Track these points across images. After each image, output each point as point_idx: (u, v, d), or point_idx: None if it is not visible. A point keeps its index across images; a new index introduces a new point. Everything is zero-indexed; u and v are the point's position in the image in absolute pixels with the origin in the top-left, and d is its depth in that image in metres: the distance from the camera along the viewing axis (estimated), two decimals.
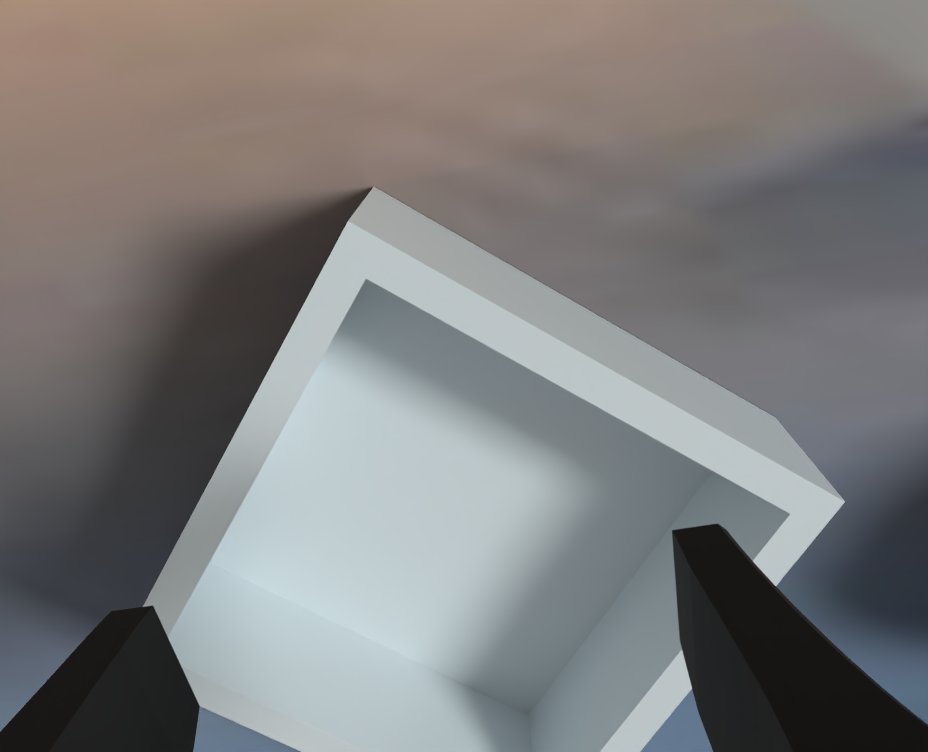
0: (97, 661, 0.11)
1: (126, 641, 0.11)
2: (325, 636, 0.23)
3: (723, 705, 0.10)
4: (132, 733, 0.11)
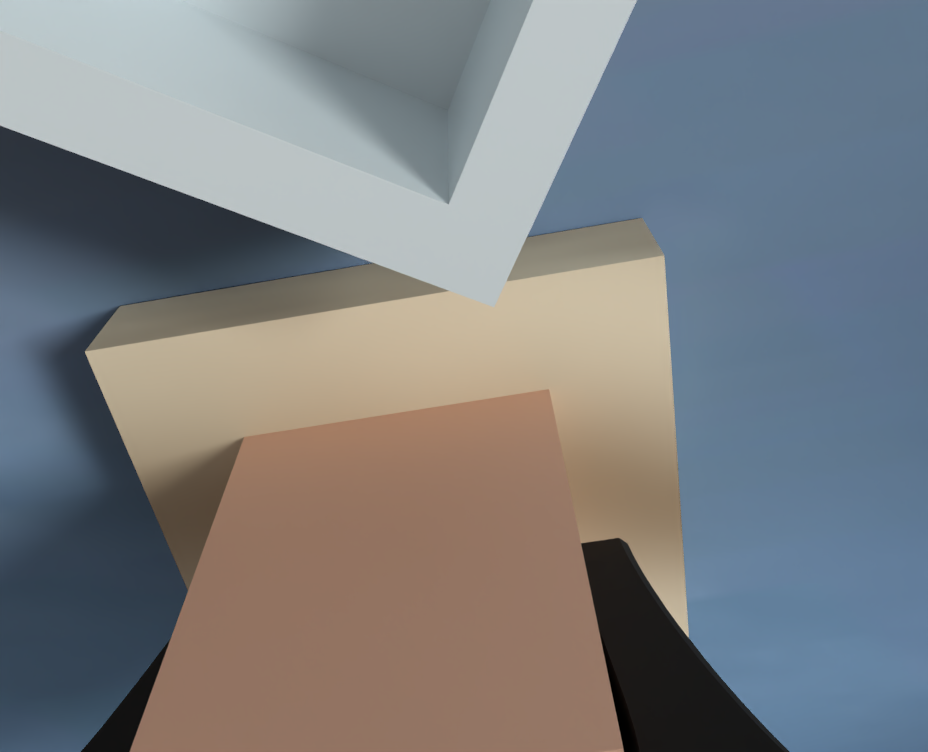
0: None
1: None
2: None
3: None
4: None
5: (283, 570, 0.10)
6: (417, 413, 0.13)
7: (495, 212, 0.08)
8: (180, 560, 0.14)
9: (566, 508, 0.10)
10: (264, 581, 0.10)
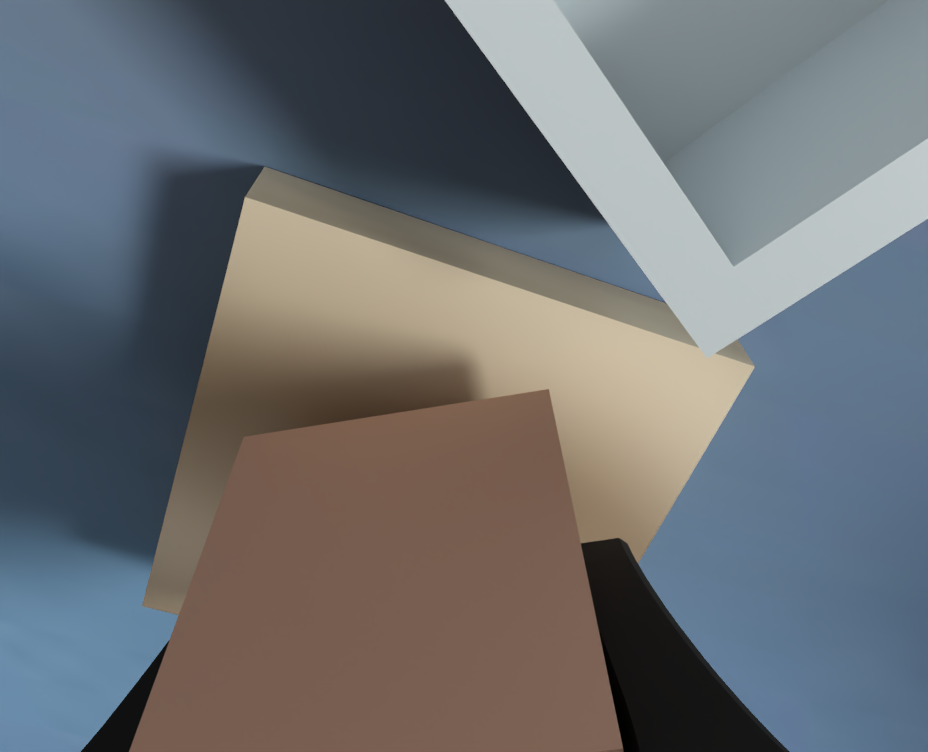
0: None
1: None
2: None
3: None
4: None
5: (282, 570, 0.10)
6: (417, 413, 0.13)
7: (760, 290, 0.10)
8: (194, 420, 0.14)
9: (566, 508, 0.10)
10: (263, 581, 0.10)
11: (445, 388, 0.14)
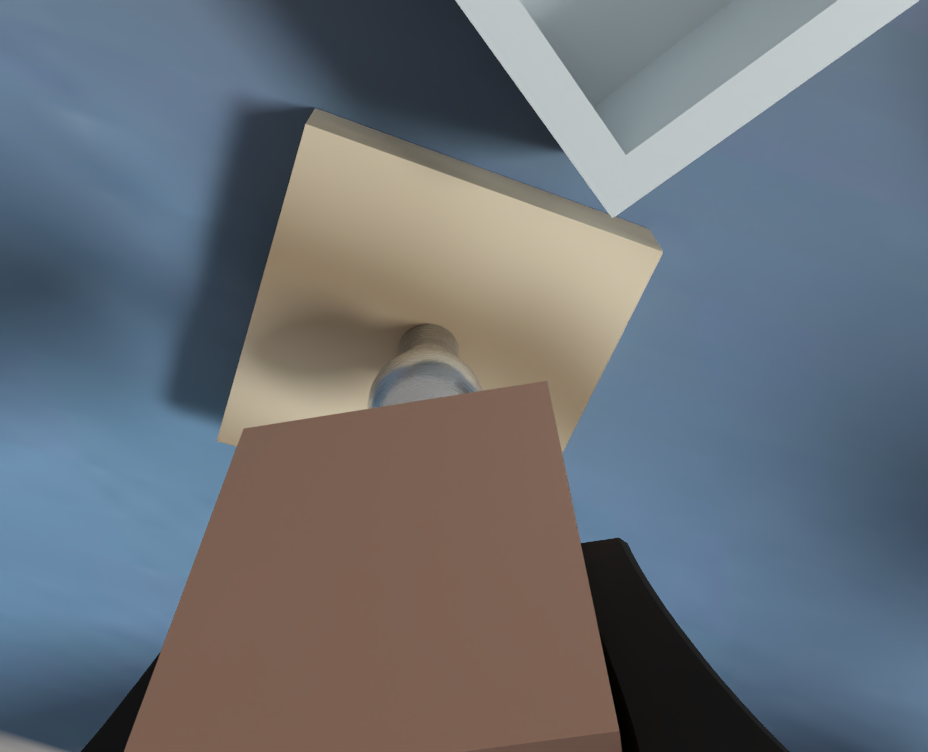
0: None
1: None
2: None
3: None
4: None
5: (282, 558, 0.10)
6: (416, 405, 0.13)
7: (644, 171, 0.15)
8: (262, 290, 0.19)
9: (563, 497, 0.10)
10: (263, 569, 0.10)
11: (442, 267, 0.19)
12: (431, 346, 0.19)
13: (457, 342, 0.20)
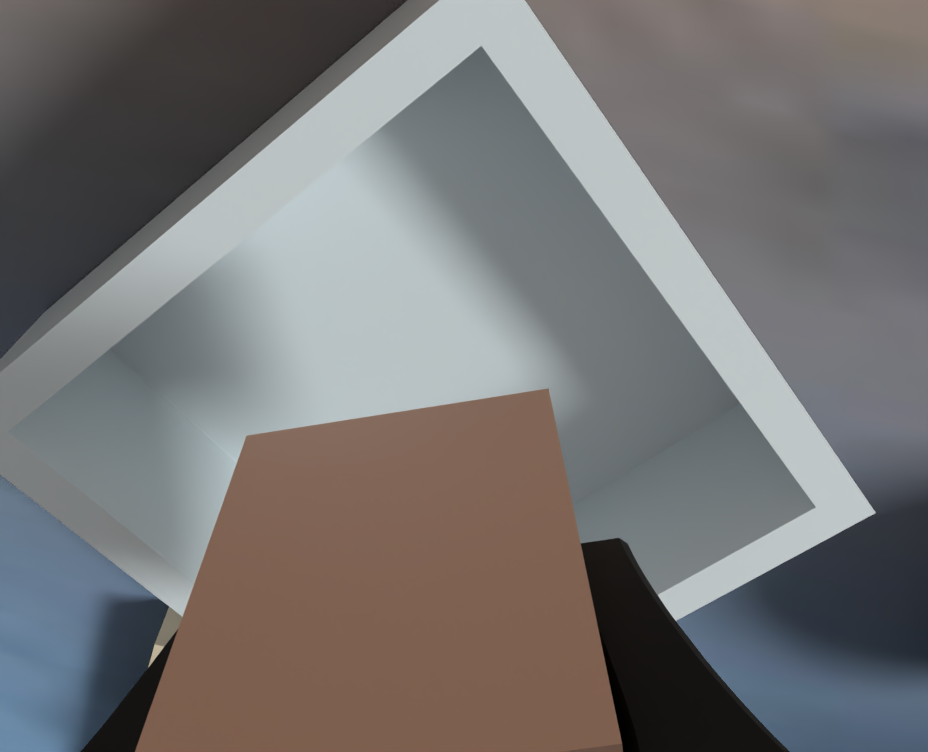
0: None
1: None
2: (209, 463, 0.19)
3: None
4: None
5: (286, 568, 0.10)
6: (419, 412, 0.13)
7: None
8: None
9: (565, 507, 0.10)
10: (267, 579, 0.10)
11: None
12: None
13: None
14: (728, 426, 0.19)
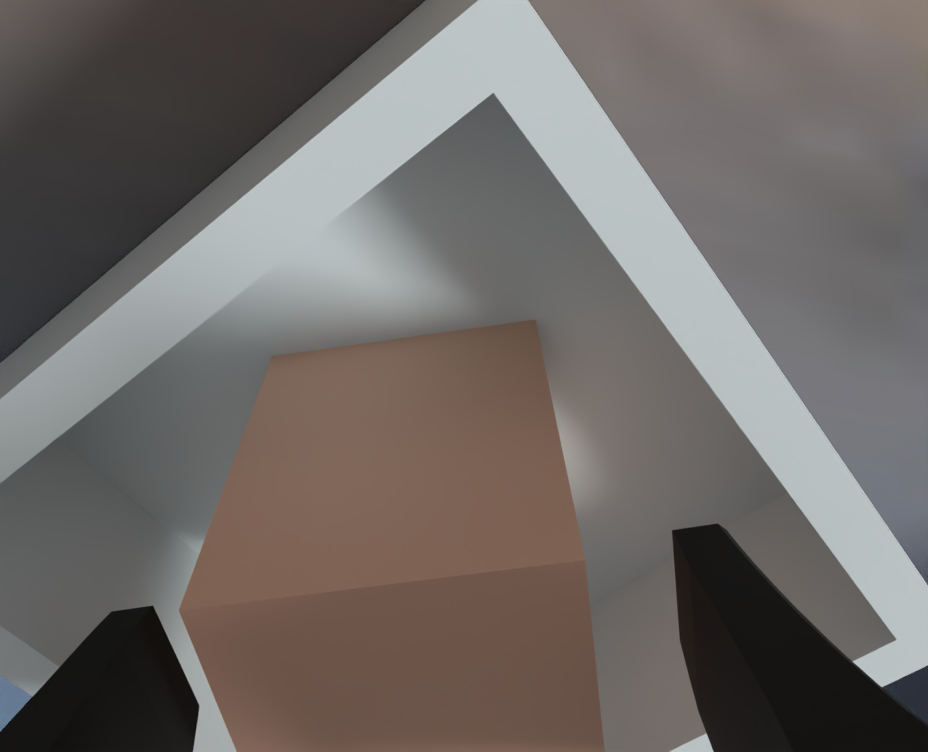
0: (97, 661, 0.11)
1: (126, 641, 0.11)
2: (168, 562, 0.16)
3: (723, 705, 0.10)
4: (132, 733, 0.11)
5: (311, 450, 0.12)
6: (422, 338, 0.15)
7: None
8: None
9: (546, 404, 0.12)
10: (295, 458, 0.12)
11: None
12: None
13: None
14: (778, 519, 0.16)
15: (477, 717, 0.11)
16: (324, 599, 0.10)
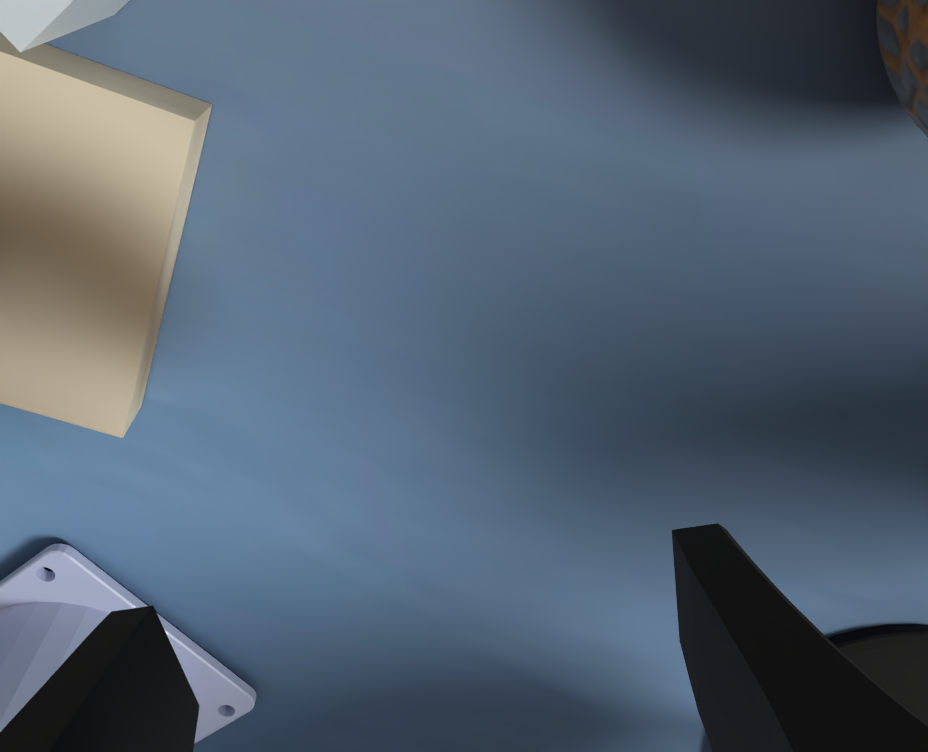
0: (97, 661, 0.11)
1: (126, 641, 0.11)
2: None
3: (723, 705, 0.10)
4: (132, 733, 0.11)
5: None
6: None
7: None
8: None
9: None
10: None
11: None
12: None
13: None
14: None
15: None
16: None
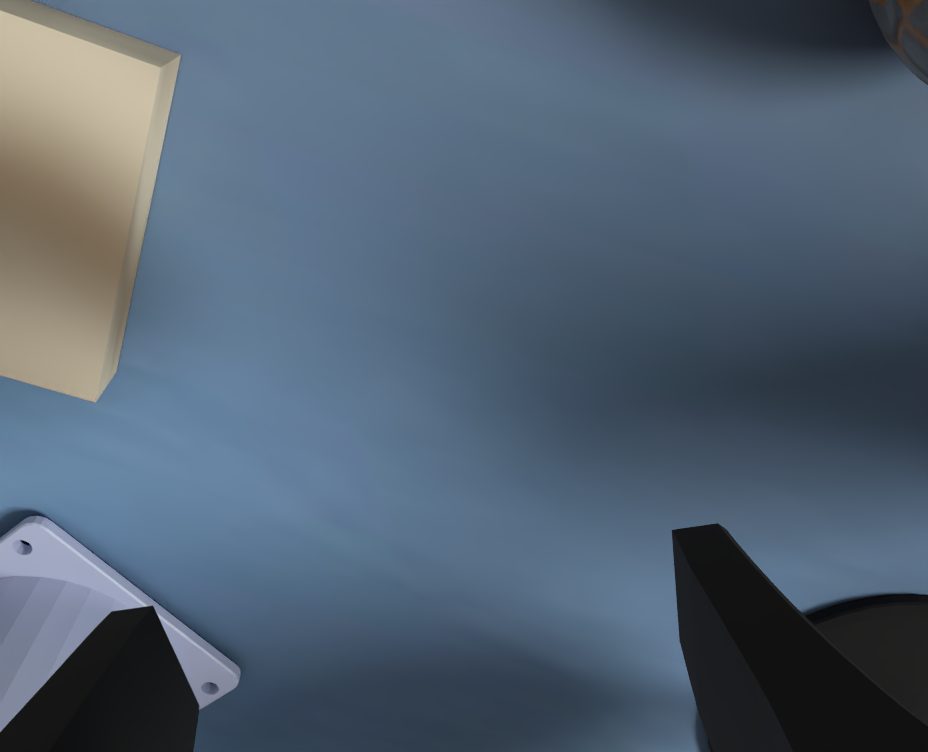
0: (97, 661, 0.11)
1: (126, 641, 0.11)
2: None
3: (723, 705, 0.10)
4: (132, 733, 0.11)
5: None
6: None
7: None
8: None
9: None
10: None
11: None
12: None
13: None
14: None
15: None
16: None
